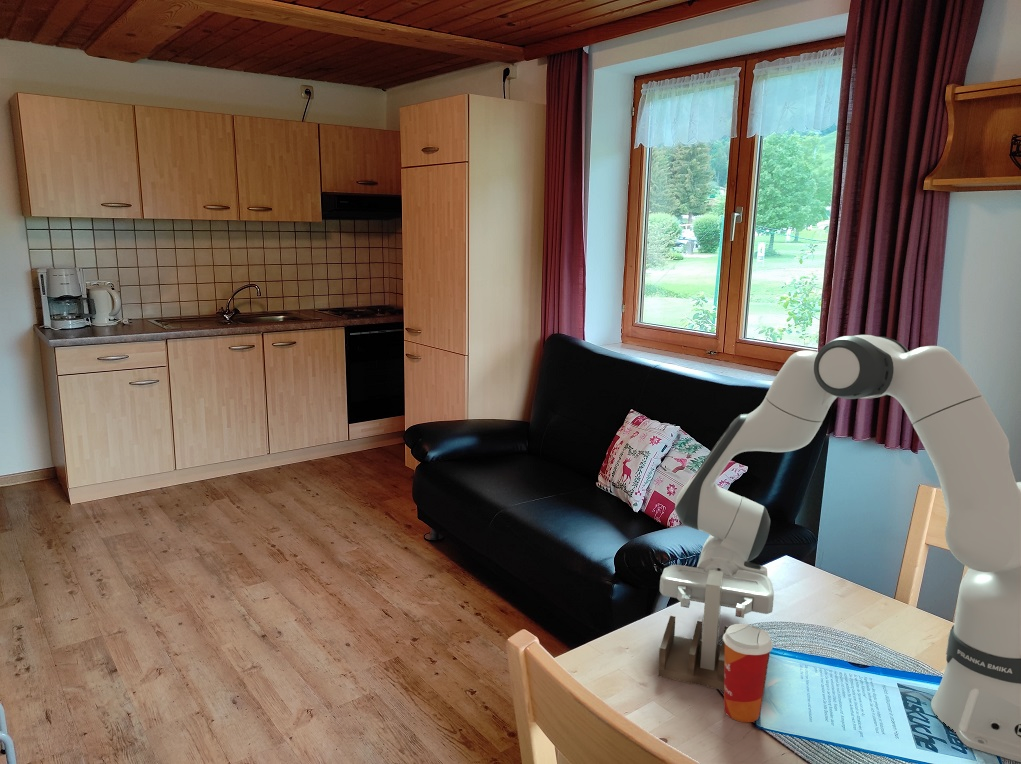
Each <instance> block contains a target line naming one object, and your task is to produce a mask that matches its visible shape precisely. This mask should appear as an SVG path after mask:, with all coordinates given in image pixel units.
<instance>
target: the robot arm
mask: <svg viewBox="0 0 1021 764" xmlns="http://www.w3.org/2000/svg"><path fill="white" fill-rule="evenodd" d="M885 396H891V397H893V398H894V399H895V400H896V401H897V402H898V403H899V404H900V405H901V406H902V408H903V410H904V411H905V414H906V415H907V418H908V419H909V421H910V423H911V425H912V427H913V429H914V431H915V432H916V434H917V436H918V439H919V441H920V442H921V443H922V445H923V448H924V449H925V451H926V453H927V455H928V457H929V459H930V461H931V463H932V464H933V467H934V470H935V473H936V475H937V478H938V479H937V480H938V482H939V484H940V490H941V493H942V496H943V501H944V506H945V510H946V525H945V530H944V537H945V543H946V545H947V547H948V550H949V552H951V554H952V555H953V557H954V558H955V559H956V560H957V561H959V562H960V563H961V564H962V565H963V566H965V567H967V568H968V569H967V571H966V573H965V575H964V576H963V578H962V580H961V581H960V584H959V589H958V597H957V601H956V610H955V615H954V616H955V617H954V624H953V625H951V629H950V631H949V633H948V635H947V636H948V638H947V642H946V643H947V644H946V650H945V651H946V652H945V655H946V665H945V669H944V672H943V675H942V679H941V680H940V682H939V683H940V684H939V686H938V687H937V690H936V692H935V693H934V695H933V697H932V698H931V701H930V704H931V705H930V706H931V710H932V711H933V713H934V714H935V716H936V715H937V716H938V717H937V716H936V717H937V718H938V719H939V720H940V721H941V722H942V723H943V722H944V723H945V724H946V725H945V724H944V723H943V724H944V725H945V726H947V727H948V726H949V727H950V728H949V727H948V728H949V729H951V730H952V729H953V730H954V731H953V730H952V731H953V732H954V733H955V732H956V733H955V734H956V735H957V738H958V739H959V740H960V741H961V742H962V744H964V745H965V746H966V747H968V748H970V749H974V750H978V751H979V752H980V751H981V752H984V753H988V754H991V755H994V756H998V757H1001V758H1004V759H1008V760H1011V761H1014V762H1018V763H1021V481H1018V482H1017V481H1016V478H1015V475H1014V471H1013V468H1012V465H1011V459H1010V441H1009V438H1008V435H1006V433H1005V431H1004V429H1003V427H1002V426H1001V424H1000V422H999V420H998V419H997V417H996V416H995V414H994V412H993V411H992V409H991V407H990V405H989V403H988V402H987V400H986V398H985V396H984V395H983V393H982V392H981V390H980V388H979V387H978V385H977V384H976V382H975V381H974V379H973V378H972V376H971V375H970V374H969V372H968V371H967V370H966V369H965V367H964V366H963V364H961V363H960V361H959V360H958V359H957V357H955V356H954V355H953V353H951V352H950V351H949V350H948V349H947V348H945V347H943V346H939V345H926V346H920V347H916V348H915V349H911V350H910V351H909V349H908V348H907V347H906V346H905V345H904V344H902V343H901V342H899V341H897V340H895V339H893V338H890V337H887V336H875V335H871V334H857V335H856V334H855V335H843V336H839V337H837V338H833V339H832V340H829V341H828V342H827V343H826V344H825V345H823V346H822V347H821V348H820V350H819V351H815V350H807V349H806V350H805V349H804V350H799V351H796V352H794V353H793V354H791V355H790V356H789V357H788V358H787V360H786V361H785V362H784V364H783V365H782V367H781V368H780V369H779V371H778V372H777V375H776V376H775V377H774V379H773V381H772V383H771V385H770V387H769V389H768V391H767V392H766V395H765V397H764V399H763V400H762V402H761V403H760V405H759V406H757V407H756V408H755V409H753V411H751V412H749V413H743V414H742V413H741V414H739V415H738V416H737V417H736V418H734V419H733V420H732V421H731V423H730V424H729V426H728V427H727V428H726V429H725V430H724V432H723V434H722V435H721V436H720V438H719V439H718V441H717V442H716V443H715V445H714V446H713V447H712V449H711V451H710V452H709V453H708V454H707V456H706V458H705V459H704V461H703V462H702V463H701V465H700V467H699V468H698V469H697V471H696V472H695V473H694V475H693V476H692V477H691V478H690V479H689V480H688V482H686V483H685V484H684V486H683V487H682V489H680V491H679V493H678V495H677V497H676V501H675V505H674V506H675V507H674V511H675V513H676V516H677V517H678V519H679V521H680V522H681V524H682V525H683V526H686V527H688V528H692V529H694V530H697V531H701V532H703V533H705V534H708V537H707V538H706V540H705V542H704V544H703V546H702V548H701V551H700V556H699V559H698V562H697V566H696V567H695V566H694V567H693V566H687V565H681V564H671V565H669V566H667V567H664V568H663V571H662V574H661V575H660V580H659V592H660V594H661V595H662V596H663V597H669V598H674V599H677V600H678V601H679V602H680V607H682V608H687V609H689V608H690V606H691V602H695V603H696V602H697V603H703V604H705V592H706V582H707V578H708V574H709V570H716V571H722V572H723V583H722V596H721V607H726V608H731V609H735V617H736V618H743V619H744V618H745V615H746V614H749V613H751V612H755V613H759V614H765V615H767V614H768V615H769V614H771V613H773V610H774V609H773V608H774V599H775V598H774V597H775V594H774V593H775V592H774V587H773V582H772V580H771V578H769V577H768V569H767V567H766V566H763V565H760V564H757V563H754V562H751V561H753V560H754V559H756V558H757V557H759V555H760V554H761V552H762V551H763V550H764V547H765V545H766V543H767V540H768V536H769V532H770V526H771V518H770V515H769V514H770V513H768V509H767V508H766V506H765V505H762V504H760V503H758V502H756V501H753V500H751V499H749V498H747V497H745V496H741V495H739V494H737V493H735V492H732V491H730V490H727V489H725V488H723V487H721V486H719V485H718V484H716V482H717V480H718V479H719V477H720V476H721V475H722V473H723V472H724V471H725V469H726V467H727V466H728V464H729V463H730V462H731V460H732V459H733V458H734V457H735V456H737V455H739V454H741V453H744V452H745V453H746V452H768V453H769V452H771V453H788V452H793V451H797V450H800V449H802V448H804V447H806V446H807V445H809V444H810V443H811V442H812V441H813V439H814V437H816V434H817V433H818V431H819V430H820V427H821V426H822V425H823V422H824V420H825V418H826V416H827V414H828V411H829V409H830V407H831V406H832V404H833V403H834V402H835V400H836V399H837V398H841V399H846V400H856V399H861V400H862V399H863V400H870V399H876V398H880V397H885Z"/></svg>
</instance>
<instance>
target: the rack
mask: <svg viewBox="0 0 1021 764" xmlns="http://www.w3.org/2000/svg"><path fill="white" fill-rule="evenodd" d="M665 627H666V628H665V631H664V634H663V637H662V640H661V642H660V643H661V644H660V647H659V655H658V656H659V659H658V675H657V676H658V677H659V678H660V677H661V678H664V679H670V680H673V681H679V682H683V683H689V684H693V685H698V686H702V687H707V688H711V689H716V690H720V691H724V662H725V643H724V641H723V637H722V639H721V644H719V643H718V650H717V657H716V663H715V669H714V670H709V669H704V668H700V663H701V649H702V635H703V621H701V620H697V621H696V624H695V627H694V632H693V636H692V638H688V637H684V636H683V637H682V636H677V635H675V632H676V631H675V630H676V616H674V615H669V618H668V622H667V624H666V626H665ZM728 627H729V626H727V625H724V628H723V633H722V636H723V635H724V634H725V632H726V630H727V628H728Z"/></svg>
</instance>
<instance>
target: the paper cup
mask: <svg viewBox="0 0 1021 764" xmlns="http://www.w3.org/2000/svg"><path fill="white" fill-rule="evenodd" d="M722 638H723V641H724V643H725V662H724V690H723V708H724V712H725V714H726V715H727V717H729V718H730V719H732V720H735V721H737V722H740V723H749V724H750V723H753V722H755V721H758V720H759V719H760V718H759V717H760V715H761V710H762V705H763V700H764V699H763V698H764V693H765V685H766V679H767V672H768V667H769V659H770V654H771V651H772V650H773V647H774V643H773V642H772V640H771V639H772V638H771V635H770V634H769V633H768V631H766V630H765V629H764V628H762V629H761V628H760V627H758V626H755V625H750V623H734V624H731V625H730V626H729V627H728V628H727V630H726V632H725V634H724V635H723V634H722Z"/></svg>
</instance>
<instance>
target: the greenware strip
mask: <svg viewBox="0 0 1021 764" xmlns="http://www.w3.org/2000/svg"><path fill="white" fill-rule="evenodd" d="M722 583H723V572H722V571H716V570H709V574H708V578H707V582H706V592H705V603H704V605H703V606H704V609H703V619H702V620H703V621H702V622H703V623H702V637H701V641H702V649H701V663H700V668H704V669H709V670H714V669H715V663H716V657H717V650H718V644H719V634H720V633H719V632H720V624H721V623H720V622H721V621H720V620H721V608H722V606H721V596H722Z"/></svg>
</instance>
